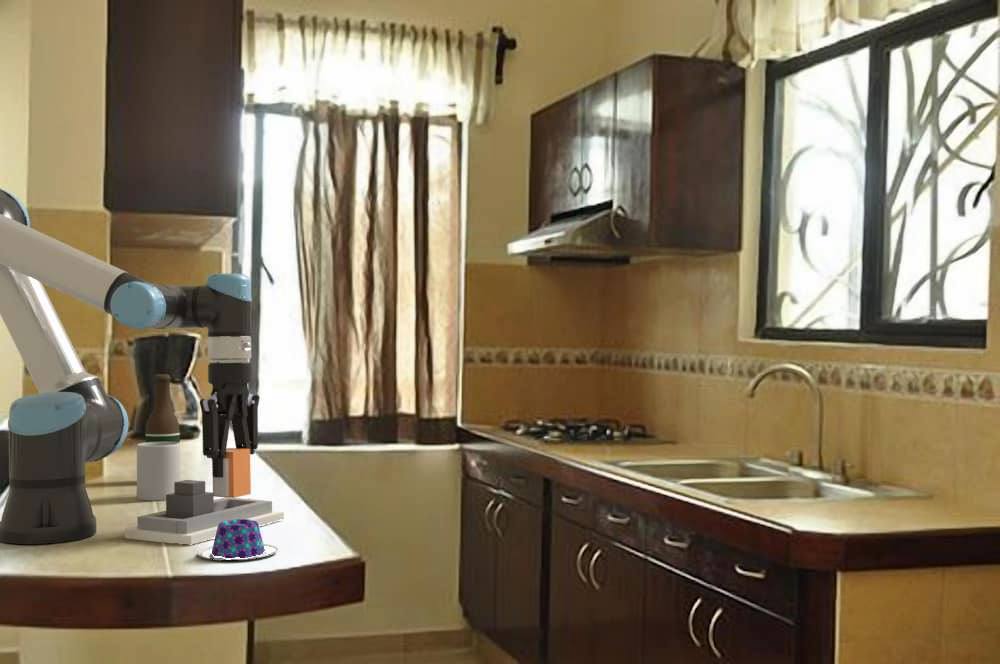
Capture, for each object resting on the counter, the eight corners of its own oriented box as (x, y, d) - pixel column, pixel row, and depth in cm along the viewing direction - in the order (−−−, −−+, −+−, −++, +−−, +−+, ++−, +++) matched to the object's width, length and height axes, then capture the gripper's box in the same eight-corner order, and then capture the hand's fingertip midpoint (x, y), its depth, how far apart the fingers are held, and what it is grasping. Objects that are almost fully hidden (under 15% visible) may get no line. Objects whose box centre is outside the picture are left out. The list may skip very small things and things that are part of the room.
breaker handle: (193, 527, 178) (193, 484, 178) (166, 524, 180) (166, 482, 180) (213, 522, 182) (213, 480, 182) (186, 519, 185) (186, 478, 185)
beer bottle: (153, 485, 236) (152, 375, 236) (138, 481, 242) (138, 374, 242) (186, 482, 241) (186, 374, 241) (171, 478, 247) (171, 373, 247)
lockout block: (233, 497, 187) (233, 451, 187) (213, 496, 189) (212, 450, 189) (250, 493, 192) (250, 448, 192) (230, 492, 194) (229, 448, 194)
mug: (178, 500, 216) (178, 445, 216) (133, 501, 214) (133, 446, 214) (184, 491, 228) (184, 439, 228) (142, 492, 226) (141, 440, 226)
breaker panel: (191, 545, 171) (191, 523, 171) (124, 538, 177) (124, 516, 177) (283, 520, 193) (283, 501, 193) (221, 514, 199) (221, 495, 199)
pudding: (244, 545, 173) (244, 512, 173) (294, 554, 166) (294, 520, 166) (181, 557, 164) (180, 523, 164) (231, 568, 156) (231, 532, 156)
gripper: (213, 363, 181) (214, 502, 181) (278, 359, 197) (279, 487, 197) (178, 362, 184) (180, 499, 184) (245, 359, 200) (246, 485, 200)
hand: (231, 493), depth 191 cm, fingers closed on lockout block, 5 cm apart
